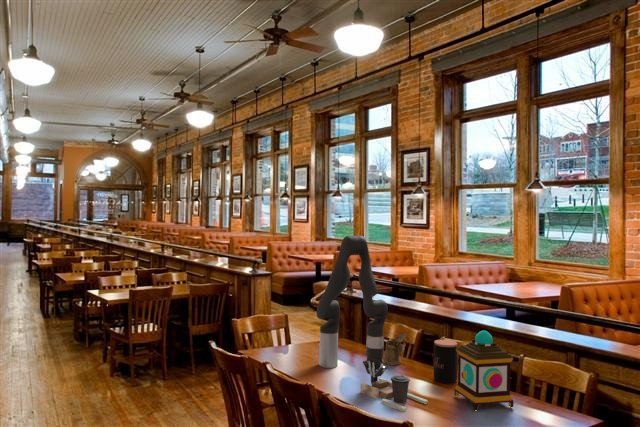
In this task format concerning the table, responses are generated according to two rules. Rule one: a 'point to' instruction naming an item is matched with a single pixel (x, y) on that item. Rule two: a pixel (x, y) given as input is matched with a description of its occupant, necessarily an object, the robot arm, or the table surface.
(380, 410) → the table surface
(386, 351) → the brown sack with scoop
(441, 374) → the coffee jar
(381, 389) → the pusher
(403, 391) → the coffee cup
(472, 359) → the decorative lantern
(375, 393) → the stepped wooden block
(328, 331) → the robot arm
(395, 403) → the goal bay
